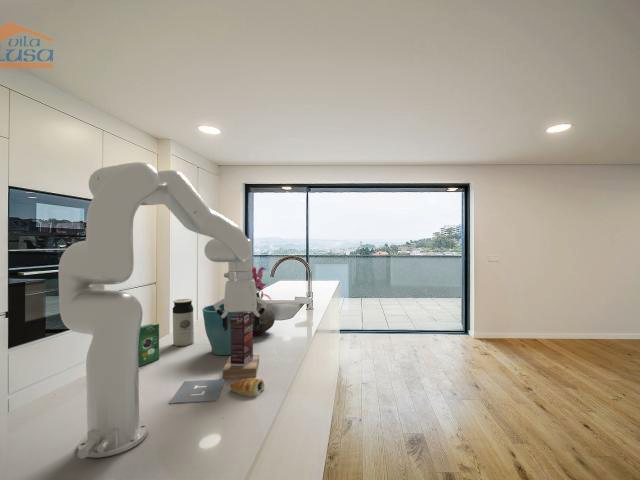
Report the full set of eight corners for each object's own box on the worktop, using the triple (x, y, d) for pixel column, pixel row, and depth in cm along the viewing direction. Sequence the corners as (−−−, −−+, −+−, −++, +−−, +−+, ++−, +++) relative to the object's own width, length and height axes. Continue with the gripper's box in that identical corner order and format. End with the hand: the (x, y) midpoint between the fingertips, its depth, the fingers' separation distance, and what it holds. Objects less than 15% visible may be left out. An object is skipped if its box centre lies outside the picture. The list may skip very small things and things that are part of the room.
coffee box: (154, 358, 127) (153, 322, 127) (160, 359, 126) (159, 322, 126) (134, 365, 120) (134, 327, 120) (140, 366, 119) (140, 328, 119)
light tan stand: (256, 376, 108) (255, 368, 108) (222, 378, 107) (222, 370, 107) (259, 362, 121) (259, 354, 121) (229, 363, 120) (229, 356, 120)
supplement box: (244, 367, 110) (243, 316, 110) (230, 366, 110) (229, 316, 110) (254, 357, 118) (253, 310, 118) (240, 357, 119) (239, 310, 119)
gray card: (216, 401, 92) (216, 399, 92) (168, 403, 91) (168, 402, 91) (225, 380, 106) (225, 379, 106) (184, 382, 105) (184, 381, 105)
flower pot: (193, 357, 128) (192, 310, 128) (218, 342, 145) (217, 301, 145) (238, 360, 124) (237, 312, 124) (259, 345, 141) (258, 303, 141)
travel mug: (174, 341, 148) (173, 299, 148) (194, 339, 151) (193, 297, 151) (172, 347, 141) (171, 302, 141) (193, 345, 143) (192, 300, 143)
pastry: (225, 395, 96) (224, 381, 96) (237, 385, 103) (237, 372, 103) (256, 398, 94) (256, 384, 94) (266, 388, 100) (266, 375, 100)
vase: (230, 337, 153) (228, 268, 153) (249, 327, 170) (248, 265, 170) (265, 340, 149) (263, 269, 149) (281, 329, 165) (280, 265, 165)
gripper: (210, 278, 110) (211, 333, 110) (266, 276, 112) (267, 330, 112) (215, 275, 117) (216, 327, 117) (267, 274, 119) (268, 325, 119)
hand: (241, 328), depth 114 cm, fingers open, 9 cm apart
